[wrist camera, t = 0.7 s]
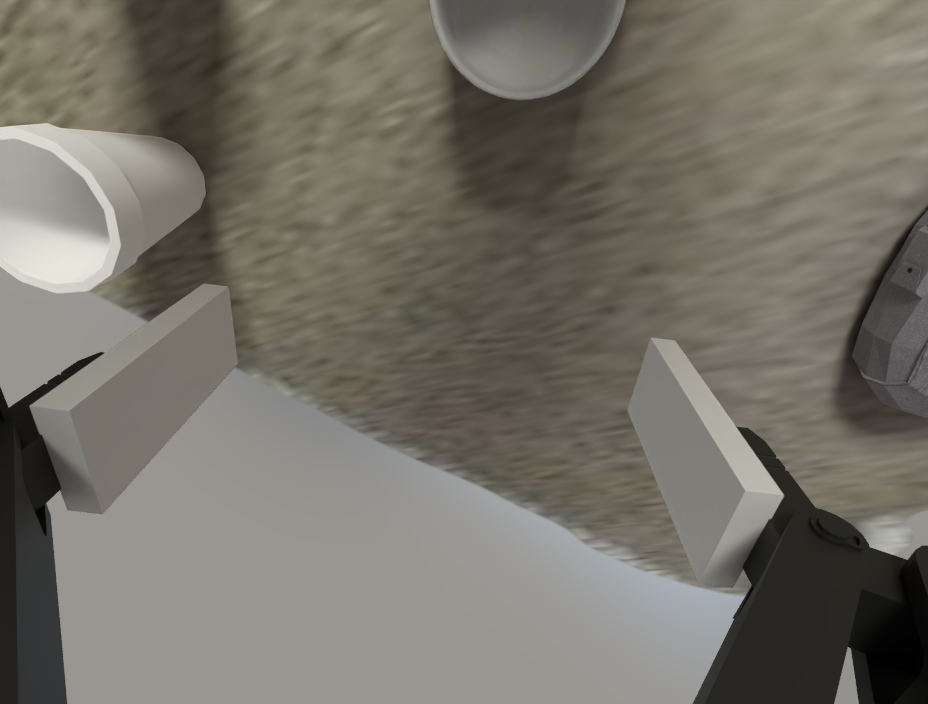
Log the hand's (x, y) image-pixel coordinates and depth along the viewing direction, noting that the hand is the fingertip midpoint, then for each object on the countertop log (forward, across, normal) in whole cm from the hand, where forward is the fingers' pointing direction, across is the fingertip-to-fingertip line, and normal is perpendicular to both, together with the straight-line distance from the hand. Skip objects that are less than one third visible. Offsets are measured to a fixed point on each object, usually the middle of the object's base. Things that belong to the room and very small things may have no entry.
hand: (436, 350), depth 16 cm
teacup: (+27, +3, +13) cm, 30 cm away
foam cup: (+27, -24, -2) cm, 36 cm away
